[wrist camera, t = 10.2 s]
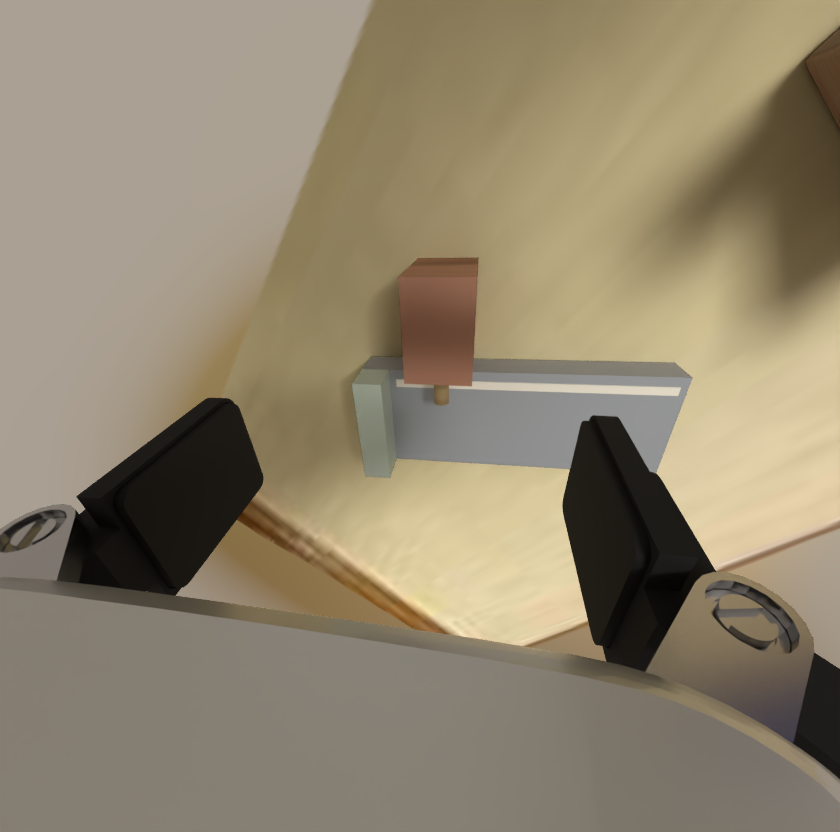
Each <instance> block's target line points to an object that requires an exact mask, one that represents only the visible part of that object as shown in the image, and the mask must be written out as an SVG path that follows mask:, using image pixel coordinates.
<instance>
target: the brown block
mask: <svg viewBox="0 0 840 832" xmlns="http://www.w3.org/2000/svg"><path fill="white" fill-rule="evenodd" d="M477 277H478V258H418V259H417V260H416V261H415V262H414V263H413V264H412V265H411V266H410V267H409V268H408V269H407V270H406V271H404V272H403V273H402V274H401V275H400V276H399V277H398V283H399V301H400V319H401V336H402V354H403V372H404V384H423V385H434V403H435V404H436V405H439V406H444V405H447V404H448V403H449V385H450V386H472V375H473V355H474V336H475V316H476V296H477Z"/></svg>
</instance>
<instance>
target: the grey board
mask: <svg viewBox="0 0 840 832" xmlns="http://www.w3.org/2000/svg"><path fill="white" fill-rule="evenodd" d="M691 380H692V377H691V376H690V375H689V374H687V373H686V372H685V371H684V370H683V369H682V368H680V367H679V366H678V365H677V364H676V363H661V362H613V361H564V360H516V359H473V375H472V386H450V385H449V403H448V404H447V405H444V406H439V405H436V404H435V403H434V385H423V384H404V372H403V357H370V359H369V360H368V362H367V363H366V364H365V366H364V367H363V369H362V370H361V372H360V373H359V374H358V376H357V377H356V379H355V380H354V381H353V383H352V390H353V397H354V403H355V410H356V417H357V424H358V431H359V438H360V444H361V451H362V458H363V465H364V472H365V476H369V477H383V478H390V477H391V474H392V471H393V468H394V465H395V462H396V458H399V459H415V460H431V461H447V462H463V463H480V464H496V465H512V466H528V467H544V468H561V469H570V468H571V464H572V459H573V455H574V451H575V447H576V442H577V438H578V434H579V430H580V426H581V423H582V421H589V419H590V417H591V416H592V415H597V416H616V417H618V418H619V419H620V420H621V422H622V424H623V426H624V427H625V429H626V431H627V433H628V434H629V436H630V438H631V440H632V441H633V443H634V445H635V447H636V448H637V450H638V452H639V453H640V455H641V457H642V459H643V460H644V462H645V464H646V466H647V467H648V469H649V471H650V472H654V473H656V472H657V469H658V467H659V464H660V461H661V459H662V456H663V454H664V451H665V448H666V446H667V443H668V440H669V438H670V435H671V433H672V430H673V427H674V425H675V422H676V420H677V417H678V414H679V412H680V409H681V406H682V404H683V401H684V399H685V396H686V393H687V391H688V388H689V385H690V383H691Z"/></svg>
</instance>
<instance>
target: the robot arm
mask: <svg viewBox="0 0 840 832" xmlns="http://www.w3.org/2000/svg"><path fill="white" fill-rule="evenodd" d="M262 484H263V474H262V471H261V468H260V465H259V462H258V460H257V457H256V454H255V451H254V448H253V445H252V443H251V440H250V437H249V434H248V431H247V429H246V426H245V423H244V420H243V417H242V414H241V412H240V409H239V407H238V406H237V405H236V404H234V402H233V401H232V400H230V399H227V398H207V399H205V400H204V401H202V402H201V403H200V404H198V405H197V406H196V407H194V408H193V409H192V410H190V411H189V412H188V413H186V414H185V415H184V416H182V417H181V418H180V419H178V420H177V421H176V422H175V423H173V424H172V425H170V426H169V427H168V428H167V429H165V430H164V431H163V432H161V433H160V434H159V435H157V436H156V437H155V438H153V439H152V440H151V441H149V442H148V443H147V444H145V445H144V446H143V447H141V448H140V449H139V450H137V451H136V452H135V453H133V454H132V455H131V456H129V457H128V458H127V459H125V460H124V461H123V462H121V463H120V464H119V465H118V466H116V467H115V468H113V469H112V470H111V471H109V472H108V473H107V474H106V475H104V476H103V477H102V478H100V479H99V480H97V482H95V483H93V484H92V485H91V486H90V487H88V488H87V489H86V490H84V491H83V492H82V493H80V494H79V495H78V496H77V498H78V499H79V501H80V502H81V503H82V504H83V506H84V507H85V510H84V511H83V512H82V513H80V514H78V512H77V511H76V510H75V509H74V508H73V507H72V506H70V505H65V504H61V505H51V506H47V507H44V508H40V509H37V510H35V511H32V512H30V513H27V514H25V515H23V516H21V517H19V518H17V519H15V520H14V521H12V522H10V523H9V524H7V525H6V526H4V527H3V528H1V529H0V832H840V669H839V668H837V667H836V666H834V665H833V664H831V663H829V662H828V661H826V660H825V659H823V658H822V657H820V656H819V655H817V654H816V653H814V642H813V637H812V635H811V633H810V631H809V629H808V627H807V625H806V623H805V622H804V621H803V619H802V618H801V617H800V616H799V615H798V613H797V612H796V611H795V610H794V609H793V608H792V607H791V606H790V605H789V604H788V603H786V602H785V601H784V600H783V599H782V598H781V597H780V596H778V595H777V594H775V593H773V592H772V591H770V590H769V589H767V588H766V587H764V586H762V585H761V584H759V583H756V582H754V581H752V580H750V579H747V578H745V577H742V576H739V575H735V574H731V573H724V572H716V571H715V569H714V567H713V566H712V564H711V562H710V561H709V559H708V557H707V556H706V554H705V552H704V551H703V549H702V547H701V546H700V544H699V542H698V541H697V539H696V537H695V535H694V534H693V532H692V530H691V529H690V527H689V525H688V524H687V522H686V520H685V519H684V517H683V515H682V514H681V512H680V510H679V509H678V507H677V505H676V504H675V502H674V500H673V499H672V497H671V495H670V493H669V492H668V490H667V488H666V487H665V485H664V483H663V482H662V480H661V479H660V477H659V476H658V475H657V474H656V473H654V472H650V471H649V469H648V467H647V466H646V464H645V462H644V460H643V459H642V457H641V455H640V453H639V452H638V450H637V448H636V447H635V445H634V443H633V441H632V440H631V438H630V436H629V434H628V433H627V431H626V429H625V427H624V426H623V424H622V422H621V420H620V419H619V418H618V417H616V416H597V415H592V416H591V417H590V419H589V421H582V423H581V426H580V430H579V434H578V438H577V442H576V447H575V451H574V455H573V459H572V464H571V468H570V472H569V476H568V481H567V485H566V489H565V493H564V498H563V515H564V519H565V523H566V527H567V532H568V536H569V540H570V545H571V549H572V553H573V557H574V562H575V566H576V570H577V575H578V579H579V583H580V588H581V592H582V596H583V600H584V605H585V609H586V613H587V618H588V622H589V626H590V630H591V634H592V638H593V641H594V643H595V644H596V645H600V646H603V650H604V654H605V658H606V662H605V661H600V660H595V659H591V658H586V657H580V656H576V655H572V654H565V653H560V652H554V651H547V650H541V649H536V648H530V647H523V646H517V645H511V644H505V643H499V642H493V641H487V640H481V639H474V638H468V637H461V636H454V635H447V634H440V633H433V632H427V631H420V630H413V629H406V628H399V627H393V626H386V625H378V624H371V623H365V622H358V621H352V620H344V619H338V618H330V617H324V616H317V615H310V614H302V613H295V612H288V611H281V610H274V609H267V608H259V607H253V606H246V605H239V604H231V603H224V602H216V601H210V600H202V599H195V598H188V597H181V596H175V595H176V594H177V593H178V591H179V590H180V589H181V588H182V587H184V586H186V585H187V584H188V583H189V582H190V581H191V579H192V578H193V577H194V575H195V574H196V573H197V571H198V570H199V569H200V568H201V566H202V565H203V564H204V562H205V561H206V560H207V558H208V557H209V556H210V554H211V553H212V552H213V550H214V549H215V548H216V546H217V545H218V543H219V542H220V541H221V540H222V538H223V537H224V536H225V534H226V533H227V532H228V530H229V529H230V527H231V526H232V525H233V524H234V522H235V521H236V520H237V518H238V517H239V516H240V514H241V513H242V512H243V510H244V509H245V508H246V506H247V505H248V504H249V502H250V501H251V500H252V498H253V497H254V496H255V494H256V493H257V492H258V491H259V489H260V488H261V486H262ZM146 591H147V592H146Z"/></svg>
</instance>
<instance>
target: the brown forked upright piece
mask: <svg viewBox="0 0 840 832" xmlns="http://www.w3.org/2000/svg"><path fill="white" fill-rule="evenodd" d="M806 66H807V68H808V70H809V72H810V74H811V76H812V77H813V79H814V81H815V83H816V85H817V87H818V89H819V91H820V93H821V94H822V96H823V98H824V100H825V102H826V104H827V106H828V108H829V110H830V111H831V113H832V115H833V117H834V119H835V121H836V123H837V125H838V127H839V128H840V29H838V30H837V31H836V32H835V33H834V34H833V35H832V36H831V37H830V38H828V39H827V40H826V41H825V42H824V43H823V44H822V45H821V46H820V47H818V48H817V49H816V50H815V51H814V52H813V53H812V54H811V55H810V56H809V58H808V59H807V60H806Z"/></svg>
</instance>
